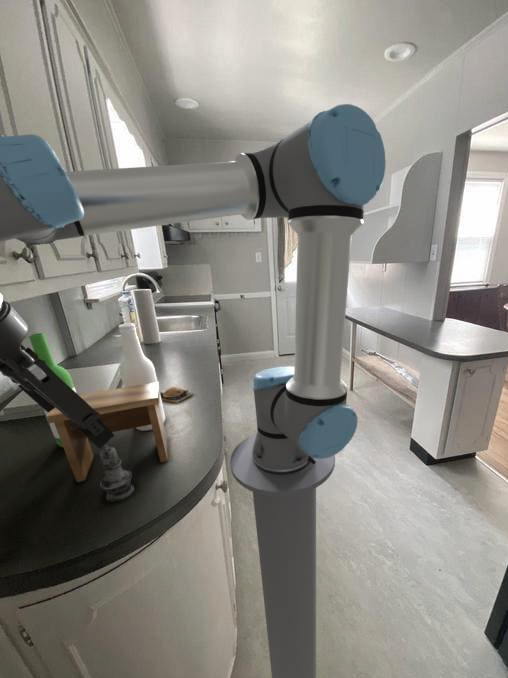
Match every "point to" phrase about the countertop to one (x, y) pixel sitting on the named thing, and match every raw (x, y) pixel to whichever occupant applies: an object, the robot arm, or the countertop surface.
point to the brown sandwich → (175, 394)
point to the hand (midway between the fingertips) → (79, 422)
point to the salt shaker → (115, 476)
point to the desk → (112, 421)
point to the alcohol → (136, 365)
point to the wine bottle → (45, 354)
